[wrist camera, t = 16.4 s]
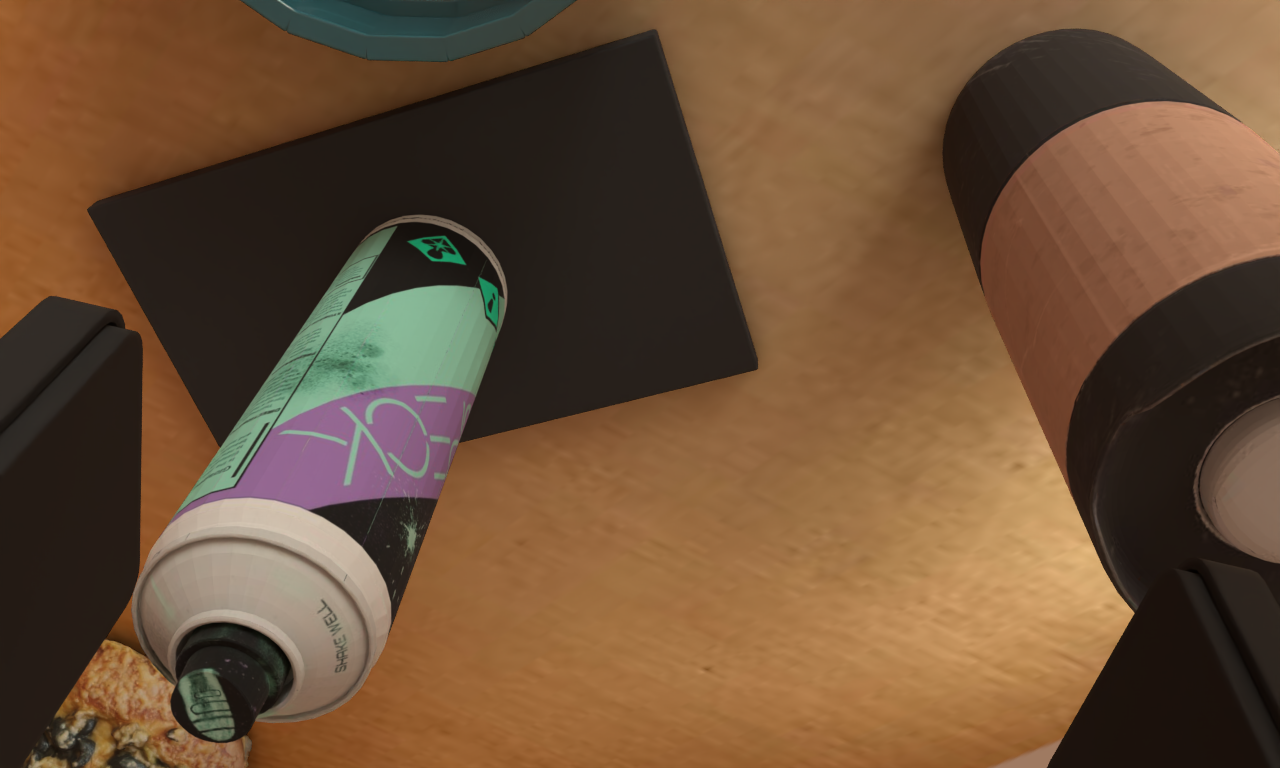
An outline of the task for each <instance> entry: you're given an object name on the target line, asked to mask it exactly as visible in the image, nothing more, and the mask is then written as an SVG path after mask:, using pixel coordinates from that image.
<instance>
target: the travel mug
mask: <svg viewBox="0 0 1280 768" xmlns="http://www.w3.org/2000/svg"><path fill="white" fill-rule="evenodd" d="M942 154H943V168H944V173H945V177H946V182H947V186H948V190H949V193H950V196H951V199H952V202H953V205H954V208H955V211H956V214H957V217H958V220H959V223H960V226H961V229H962V232H963V235H964V238H965V241H966V244H967V247H968V250H969V252H970V255H971V258H972V261H973V264H974V267H975V270H976V273H977V276H978V279H979V282H980V285H981V288H982V291H983V293H984V296H985V299H986V301H987V304H988V307H989V309H990V312H991V315H992V317H993V319H994V321H995V324H996V326H997V328H998V330H999V333H1000V335H1001V337H1002V339H1003V342H1004V344H1005V346H1006V348H1007V351H1008V353H1009V355H1010V357H1011V360H1012V362H1013V364H1014V366H1015V369H1016V371H1017V373H1018V376H1019V378H1020V380H1021V382H1022V385H1023V387H1024V389H1025V391H1026V394H1027V396H1028V398H1029V400H1030V403H1031V405H1032V407H1033V409H1034V412H1035V414H1036V416H1037V418H1038V421H1039V423H1040V425H1041V427H1042V430H1043V432H1044V434H1045V436H1046V439H1047V441H1048V443H1049V445H1050V448H1051V450H1052V452H1053V455H1054V457H1055V459H1056V461H1057V464H1058V466H1059V468H1060V470H1061V473H1062V475H1063V477H1064V479H1065V482H1066V484H1067V486H1068V488H1069V491H1070V493H1071V495H1072V497H1073V500H1074V502H1075V504H1076V506H1077V509H1078V511H1079V513H1080V516H1081V518H1082V520H1083V522H1084V525H1085V527H1086V529H1087V531H1088V534H1089V536H1090V538H1091V541H1092V543H1093V545H1094V547H1095V550H1096V552H1097V554H1098V556H1099V559H1100V561H1101V563H1102V565H1103V568H1104V570H1105V571H1106V573H1107V575H1108V577H1109V578H1110V580H1111V582H1112V583H1113V585H1114V587H1115V588H1116V590H1117V592H1118V593H1119V594H1120V596H1121V597H1122V598H1123V599H1124V601H1125V602H1126V603H1127V604H1128V605H1129V607H1130V608H1131V609H1132V610H1133V611H1134V612H1136V610H1137V608H1138V607H1139V605H1140V603H1141V602H1142V600H1143V598H1144V596H1145V595H1146V593H1147V591H1148V589H1149V588H1150V586H1151V584H1152V582H1153V581H1154V579H1155V578H1156V576H1157V575H1158V574H1159V572H1161V571H1162V570H1163V569H1165V568H1174V569H1176V568H1177V567H1178V566H1179V564H1181V563H1182V562H1183V561H1185V560H1186V559H1188V558H1193V557H1197V558H1201V559H1205V560H1210V561H1214V562H1218V563H1223V564H1227V565H1231V566H1236V567H1240V568H1245V569H1249V570H1252V571H1254V572H1257V573H1259V575H1260V576H1261V577H1262V578H1263V579H1264V581H1265V582H1266V584H1267V586H1268V588H1269V589H1270V591H1271V593H1272V595H1273V596H1274V598H1275V600H1276V602H1277V604H1278V605H1279V607H1280V154H1279V153H1278V152H1277V151H1276V150H1275V149H1274V148H1272V147H1271V146H1270V145H1269V144H1268V143H1267V142H1266V141H1264V140H1263V139H1262V138H1261V137H1260V136H1259V135H1257V134H1256V133H1255V132H1254V131H1252V130H1251V129H1250V128H1249V127H1247V126H1246V125H1244V124H1243V123H1242V122H1241V121H1239V120H1238V119H1237V118H1235V117H1234V116H1233V115H1231V114H1230V113H1228V112H1227V111H1226V110H1224V109H1223V108H1222V107H1220V106H1219V105H1217V104H1216V103H1215V102H1213V101H1212V100H1211V99H1209V98H1208V97H1206V96H1205V95H1204V94H1202V93H1201V92H1200V91H1198V90H1197V89H1195V88H1194V87H1193V86H1191V85H1190V84H1188V83H1187V82H1186V81H1184V80H1183V79H1182V78H1180V77H1179V76H1177V75H1176V74H1175V73H1173V72H1172V71H1171V70H1169V69H1168V68H1166V67H1165V66H1164V65H1162V64H1161V63H1159V62H1158V61H1157V60H1155V59H1154V58H1153V57H1151V56H1150V55H1148V54H1147V53H1145V52H1144V51H1142V50H1141V49H1139V48H1137V47H1136V46H1134V45H1132V44H1130V43H1129V42H1127V41H1125V40H1123V39H1121V38H1118V37H1116V36H1113V35H1111V34H1108V33H1103V32H1099V31H1095V30H1086V29H1061V30H1055V31H1049V32H1044V33H1041V34H1038V35H1034V36H1031V37H1028V38H1026V39H1024V40H1021V41H1019V42H1017V43H1014V44H1013V45H1011V46H1009V47H1008V48H1006V49H1004V50H1002V51H1001V52H999V53H998V54H997V55H995V56H994V57H993V58H991V59H990V60H989V61H988V62H986V63H985V64H984V65H983V66H982V67H981V68H980V69H979V70H978V71H977V72H976V73H975V74H974V76H973V77H972V78H971V79H970V80H969V81H968V83H967V84H966V85H965V87H964V89H963V90H962V92H961V93H960V95H959V96H958V98H957V100H956V102H955V104H954V106H953V108H952V110H951V113H950V116H949V119H948V122H947V124H946V129H945V134H944V139H943V152H942Z"/></svg>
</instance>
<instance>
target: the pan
mask: <svg viewBox="0 0 1280 768" xmlns="http://www.w3.org/2000/svg"><path fill="white" fill-rule="evenodd" d="M240 1H242V2H243V3H245V4H246V5H247V6H249V7H250V8H252V9H253V10H255V11H256V12H257V13H259V14H260V15H262V16H263V17H265V18H266V19H267V20H269V21H270V22H272V23H273V24H275V25H276V26H278V27H279V28H280V29H282V30H283V31H287V32H288V33H289V34H292V35H295V36H298V37H301V38H304V39H307V40H310V41H312V42H315V43H318V44H321V45H324V46H327V47H330V48H333V49H336V50H339V51H342V52H345V53H348V54H351V55H354V56H357V57H360V58H363V59H367V60H378V61H424V62H448V61H453V60H456V59H460V58H463V57H466V56H469V55H472V54H475V53H479V52H482V51H485V50H488V49H491V48H495V47H498V46H501V45H504V44H507V43H511V42H514V41H517V40H520V39H523V38H525V37H527V36H529V35H530V34H532V33H533V32H535V31H536V30H537V29H539V28H540V27H541V26H543V25H544V24H545V23H547V22H548V21H549V20H551V19H552V18H553V17H555V16H556V15H558V14H559V13H560V12H562V11H563V10H564V9H566V8H567V7H568V6H570V5H571V4H572V3H574V2H575V1H576V0H240Z"/></svg>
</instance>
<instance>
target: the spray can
mask: <svg viewBox="0 0 1280 768" xmlns="http://www.w3.org/2000/svg"><path fill="white" fill-rule="evenodd" d="M506 307H507V286H506V280H505V276H504V273H503V271H502V268H501V266H500V263H499V261H498V260H497V258H496V257H495V255H494V254H493V252H492V251H491V249H490V248H489V247H488V246H487V245H486V244H485V243H484V242H483V241H482V240H481V239H480V238H479V237H478V236H477V235H475V234H474V233H473V232H471V231H470V230H469V229H467V228H465V227H463V226H461V225H459V224H457V223H455V222H453V221H451V220H447V219H444V218H441V217H437V216H429V215H409V216H402V217H399V218H395V219H392V220H389V221H387V222H385V223H383V224H382V225H380V226H378V227H376V228H375V229H374V230H373V231H372V232H370V233H369V234H368V235H367V236H366V237H365V238H364V239H363V240H362V241H361V243H360V244H359V245H358V247H357V248H356V249H355V251H354V252H353V253H352V255H351V256H350V258H349V259H348V261H347V262H346V264H345V265H344V267H343V268H342V270H341V271H340V273H339V274H338V275H337V277H336V278H335V280H334V281H333V283H332V284H331V286H330V287H329V289H328V290H327V292H326V293H325V295H324V296H323V298H322V299H321V300H320V302H319V303H318V305H317V306H316V308H315V309H314V311H313V312H312V314H311V315H310V317H309V318H308V320H307V321H306V323H305V324H304V325H303V327H302V328H301V330H300V331H299V333H298V334H297V336H296V337H295V339H294V340H293V342H292V343H291V345H290V346H289V348H288V349H287V350H286V352H285V353H284V355H283V356H282V358H281V359H280V361H279V362H278V364H277V365H276V367H275V368H274V370H273V371H272V373H271V374H270V375H269V377H268V378H267V380H266V381H265V383H264V384H263V386H262V387H261V389H260V390H259V392H258V393H257V395H256V396H255V398H254V399H253V400H252V402H251V403H250V405H249V406H248V408H247V409H246V411H245V412H244V414H243V415H242V417H241V418H240V420H239V421H238V423H237V424H236V425H235V427H234V428H233V430H232V431H231V433H230V434H229V436H228V437H227V439H226V440H225V442H224V443H223V445H222V446H221V448H220V449H219V450H218V452H217V453H216V455H215V456H214V458H213V459H212V461H211V462H210V464H209V465H208V467H207V468H206V470H205V471H204V473H203V474H202V475H201V477H200V478H199V480H198V481H197V483H196V484H195V486H194V487H193V489H192V490H191V492H190V493H189V495H188V496H187V498H186V499H185V500H184V502H183V503H182V505H181V506H180V508H179V509H178V511H177V512H176V514H175V515H174V517H173V518H172V520H171V521H170V523H169V524H168V525H167V527H166V528H165V530H164V531H163V533H162V534H161V536H160V537H159V539H158V540H157V542H156V543H155V545H154V546H153V548H152V549H151V551H150V553H149V556H148V558H147V561H146V563H145V566H144V570H143V571H142V573H141V574H140V576H139V579H138V581H137V584H136V586H135V589H134V591H133V599H132V608H131V611H132V618H133V624H134V630H135V632H136V635H137V637H138V640H139V642H140V645H141V647H142V649H143V650H144V652H145V653H146V655H147V656H148V658H149V659H150V661H151V663H152V664H153V665H154V666H155V667H156V668H157V670H158V671H159V672H160V673H161V674H162V675H163V676H164V677H165V678H166V679H167V680H168V681H169V682H170V683H172V684H173V685H174V686H175V688H174V690H173V693H172V696H171V700H170V706H171V711H172V714H173V716H174V718H175V719H176V721H177V722H178V723H179V724H180V725H181V726H182V728H184V729H185V730H186V731H187V732H188V733H190V734H191V735H193V736H194V737H196V738H199V739H201V740H205V741H208V742H214V743H229V742H234V741H236V740H238V739H241V738H242V737H243V736H245V735H246V734H247V733H248V732H249V731H250V729H251V727H252V725H253V723H254V722H255V721H259V722H268V723H286V722H298V721H303V720H308V719H313V718H316V717H319V716H322V715H324V714H327V713H329V712H332V711H334V710H335V709H337V708H338V707H340V706H342V705H343V704H345V703H346V702H348V701H349V700H350V699H351V698H352V697H353V696H354V695H355V694H356V693H357V692H358V691H359V690H360V688H361V687H362V685H363V684H364V682H365V680H366V678H367V676H368V675H369V673H370V670H371V668H372V667H373V666H374V665H375V664H376V662H377V660H378V658H379V656H380V654H381V653H382V651H383V649H384V646H385V644H386V641H387V638H388V635H389V633H390V630H391V627H392V624H393V622H394V619H395V616H396V613H397V611H398V608H399V605H400V602H401V600H402V597H403V594H404V592H405V589H406V586H407V583H408V581H409V578H410V575H411V572H412V570H413V567H414V564H415V561H416V559H417V556H418V553H419V550H420V548H421V545H422V542H423V540H424V537H425V534H426V531H427V529H428V526H429V523H430V520H431V518H432V515H433V512H434V509H435V507H436V504H437V501H438V498H439V496H440V493H441V490H442V488H443V485H444V482H445V479H446V477H447V474H448V471H449V468H450V466H451V463H452V460H453V457H454V455H455V452H456V449H457V446H458V444H459V441H460V438H461V435H462V433H463V430H464V427H465V425H466V422H467V419H468V416H469V414H470V411H471V408H472V405H473V403H474V400H475V397H476V394H477V392H478V389H479V386H480V383H481V381H482V378H483V375H484V373H485V370H486V367H487V364H488V362H489V359H490V356H491V353H492V351H493V348H494V345H495V342H496V340H497V337H498V334H499V331H500V329H501V326H502V323H503V319H504V315H505V311H506Z"/></svg>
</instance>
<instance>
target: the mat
mask: <svg viewBox="0 0 1280 768" xmlns="http://www.w3.org/2000/svg"><path fill="white" fill-rule="evenodd" d="M87 211H88V213H89V215H90V217H91V218H92V220H93V222H94V224H95V226H96V227H97V229H98V231H99V233H100V234H101V236H102V238H103V240H104V242H105V243H106V245H107V247H108V249H109V251H110V252H111V254H112V256H113V258H114V259H115V261H116V263H117V265H118V267H119V268H120V270H121V272H122V274H123V276H124V277H125V279H126V281H127V283H128V284H129V286H130V288H131V290H132V292H133V293H134V295H135V297H136V299H137V301H138V302H139V304H140V306H141V308H142V309H143V311H144V313H145V315H146V317H147V318H148V320H149V322H150V324H151V326H152V327H153V329H154V331H155V333H156V334H157V336H158V338H159V340H160V342H161V343H162V345H163V347H164V349H165V350H166V352H167V354H168V356H169V358H170V359H171V361H172V363H173V365H174V367H175V368H176V370H177V372H178V374H179V375H180V377H181V379H182V381H183V383H184V384H185V386H186V388H187V390H188V392H189V393H190V395H191V397H192V399H193V400H194V402H195V404H196V406H197V408H198V409H199V411H200V413H201V415H202V417H203V418H204V420H205V422H206V424H207V425H208V427H209V429H210V431H211V433H212V434H213V436H214V438H215V440H216V442H217V443H218V445H219V447H220V448H221V446H222V445H223V443H224V442H225V440H226V439H227V437H228V436H229V434H230V433H231V431H232V430H233V428H234V427H235V425H236V424H237V423H238V421H239V420H240V418H241V417H242V415H243V414H244V412H245V411H246V409H247V408H248V406H249V405H250V403H251V402H252V400H253V399H254V398H255V396H256V395H257V393H258V392H259V390H260V389H261V387H262V386H263V384H264V383H265V381H266V380H267V378H268V377H269V375H270V374H271V373H272V371H273V370H274V368H275V367H276V365H277V364H278V362H279V361H280V359H281V358H282V356H283V355H284V353H285V352H286V350H287V349H288V348H289V346H290V345H291V343H292V342H293V340H294V339H295V337H296V336H297V334H298V333H299V331H300V330H301V328H302V327H303V325H304V324H305V323H306V321H307V320H308V318H309V317H310V315H311V314H312V312H313V311H314V309H315V308H316V306H317V305H318V303H319V302H320V300H321V299H322V298H323V296H324V295H325V293H326V292H327V290H328V289H329V287H330V286H331V284H332V283H333V281H334V280H335V278H336V277H337V275H338V274H339V273H340V271H341V270H342V268H343V267H344V265H345V264H346V262H347V261H348V259H349V258H350V256H351V255H352V253H353V252H354V251H355V249H356V248H357V247H358V245H359V244H360V243H361V241H362V240H363V239H364V238H365V237H366V236H367V235H368V234H369V233H370V232H372V231H373V230H374V229H375V228H376V227H378V226H380V225H382V224H383V223H385V222H387V221H389V220H392V219H395V218H399V217H402V216H409V215H429V216H437V217H441V218H444V219H447V220H451V221H453V222H455V223H457V224H459V225H461V226H463V227H465V228H467V229H469V230H470V231H471V232H473V233H474V234H475V235H477V236H478V237H479V238H480V239H481V240H482V241H483V242H484V243H485V244H486V245H487V246H488V247H489V248H490V249H491V251H492V252H493V254H494V255H495V257H496V258H497V260H498V261H499V263H500V266H501V268H502V271H503V273H504V276H505V280H506V286H507V307H506V311H505V315H504V319H503V323H502V326H501V329H500V331H499V334H498V337H497V340H496V342H495V345H494V348H493V351H492V353H491V356H490V359H489V362H488V364H487V367H486V370H485V373H484V375H483V378H482V381H481V383H480V386H479V389H478V392H477V394H476V397H475V400H474V403H473V405H472V408H471V411H470V414H469V416H468V419H467V422H466V425H465V427H464V430H463V433H462V435H461V438H460V441H459V443H461V442H465V441H469V440H473V439H477V438H481V437H485V436H489V435H493V434H497V433H501V432H505V431H510V430H514V429H518V428H522V427H526V426H530V425H534V424H538V423H542V422H546V421H550V420H554V419H558V418H563V417H567V416H571V415H575V414H579V413H583V412H587V411H591V410H595V409H599V408H603V407H607V406H611V405H615V404H620V403H624V402H628V401H632V400H636V399H640V398H644V397H648V396H652V395H656V394H660V393H664V392H668V391H673V390H677V389H681V388H685V387H689V386H693V385H697V384H701V383H705V382H709V381H713V380H717V379H721V378H725V377H730V376H734V375H738V374H742V373H746V372H750V371H754V370H757V369H758V358H757V355H756V352H755V348H754V345H753V342H752V339H751V335H750V332H749V329H748V326H747V322H746V319H745V316H744V313H743V309H742V306H741V303H740V300H739V296H738V293H737V290H736V287H735V283H734V280H733V277H732V274H731V270H730V267H729V264H728V261H727V257H726V254H725V251H724V248H723V244H722V241H721V238H720V235H719V231H718V228H717V225H716V221H715V218H714V215H713V212H712V208H711V205H710V202H709V199H708V195H707V192H706V189H705V186H704V182H703V179H702V176H701V173H700V169H699V166H698V163H697V160H696V156H695V153H694V150H693V147H692V143H691V140H690V137H689V134H688V130H687V127H686V124H685V121H684V117H683V114H682V111H681V108H680V104H679V101H678V98H677V94H676V91H675V88H674V85H673V81H672V78H671V75H670V72H669V68H668V65H667V62H666V59H665V55H664V52H663V49H662V46H661V42H660V39H659V36H658V33H657V31H656V30H654V29H653V30H650V31H647V32H644V33H640V34H637V35H634V36H631V37H627V38H624V39H621V40H618V41H614V42H611V43H608V44H605V45H602V46H598V47H595V48H592V49H589V50H585V51H582V52H579V53H576V54H572V55H569V56H566V57H563V58H559V59H556V60H553V61H550V62H546V63H543V64H540V65H537V66H533V67H530V68H527V69H524V70H520V71H517V72H514V73H511V74H508V75H504V76H501V77H498V78H495V79H491V80H488V81H485V82H482V83H478V84H475V85H472V86H469V87H465V88H462V89H459V90H456V91H452V92H449V93H446V94H443V95H439V96H436V97H433V98H430V99H426V100H423V101H420V102H417V103H414V104H410V105H407V106H404V107H401V108H397V109H394V110H391V111H388V112H384V113H381V114H378V115H375V116H371V117H368V118H365V119H362V120H358V121H355V122H352V123H349V124H345V125H342V126H339V127H336V128H333V129H329V130H326V131H323V132H320V133H316V134H313V135H310V136H307V137H303V138H300V139H297V140H294V141H290V142H287V143H284V144H281V145H277V146H274V147H271V148H268V149H264V150H261V151H258V152H255V153H251V154H248V155H245V156H242V157H239V158H235V159H232V160H229V161H226V162H222V163H219V164H216V165H213V166H209V167H206V168H203V169H200V170H196V171H193V172H190V173H187V174H183V175H180V176H177V177H174V178H170V179H167V180H164V181H161V182H157V183H154V184H151V185H148V186H145V187H141V188H138V189H135V190H132V191H128V192H125V193H122V194H119V195H115V196H112V197H109V198H106V199H102V200H99V201H97V202H95V203H94V204H93V205H92V206H90V207H89V208H88V209H87Z"/></svg>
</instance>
